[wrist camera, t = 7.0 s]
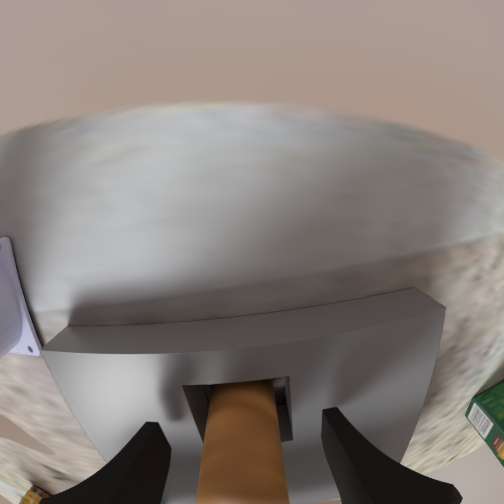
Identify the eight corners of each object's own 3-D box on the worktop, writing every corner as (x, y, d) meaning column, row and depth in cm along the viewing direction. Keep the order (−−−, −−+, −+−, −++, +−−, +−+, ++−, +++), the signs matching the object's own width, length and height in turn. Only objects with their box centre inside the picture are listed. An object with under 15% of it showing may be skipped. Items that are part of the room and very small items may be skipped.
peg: (219, 402, 15) (207, 519, 7) (208, 359, 14) (184, 487, 6) (274, 397, 15) (290, 516, 7) (269, 353, 14) (287, 484, 6)
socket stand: (149, 479, 17) (130, 552, 8) (66, 326, 13) (-21, 408, 5) (379, 457, 17) (411, 529, 8) (414, 287, 13) (524, 362, 5)
